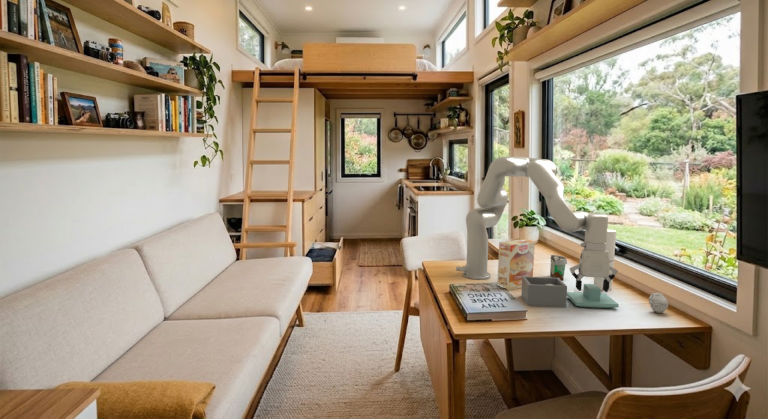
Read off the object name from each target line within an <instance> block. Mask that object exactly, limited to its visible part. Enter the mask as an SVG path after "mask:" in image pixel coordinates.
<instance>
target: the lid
mask: <svg viewBox="0 0 768 419" xmlns="http://www.w3.org/2000/svg"><path fill="white" fill-rule="evenodd" d="M582 291H583V292H576V291H575V292H574V291H573V292H572V291H571V292H570V291H567V297H568V299H569V300H570V301H571V303H573V304H574V305H575V306H576V307H577V306H578V307H579V308H597V309H598V308H600V309H601V308H602V309H611V308H619V303H618V302H617V301H615V299H613V298H612V297H611V296H609V295H608V294H607V293H602V290H601V289H600V288H599V287H597V286H596V285H595V284H594V283H583V290H582Z"/></svg>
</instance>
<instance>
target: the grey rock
mask: <svg viewBox="0 0 768 419" xmlns="http://www.w3.org/2000/svg"><path fill="white" fill-rule="evenodd" d="M648 304H649V306H650V308H651V310H652V311H653V312H655V313H658V314H661V313H662V314H663V313H665V312H666V310H667V309H668V308H669V307H668V306H669V302H668V300H667V298H666V297H665V296H664V294H663V293H661V292H655V293H653V292H652V293H651V294H650V296H649V298H648Z"/></svg>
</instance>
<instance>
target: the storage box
mask: <svg viewBox="0 0 768 419" xmlns="http://www.w3.org/2000/svg"><path fill="white" fill-rule="evenodd" d="M567 292H568V286H567V284H565V283H564V281H561V280H560V279H559V278H551V277H550V276H549V277H544V276H542V277H541V276H533V277H523V276H522V288H521V298H522V300H523V301H524V302H525V304H526V306H528V307H531V306H532V307H550V308H551V307H552V308H567V301H568V300H567Z"/></svg>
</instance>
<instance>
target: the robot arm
mask: <svg viewBox="0 0 768 419" xmlns="http://www.w3.org/2000/svg"><path fill="white" fill-rule="evenodd" d="M556 173H557V165H555V163H554V162H553V161H552V160H550V159H546V158H545V159H543V158H537V157H536V158H534V157H528V156H500V157H497V158H495V159H494V160H492V162H491V163H490V165H489V166H488V169H487V173H486V176H485V178H484V180H483V182H482V185H481V188H480V189H479V192H478V195H477V199H476V200H477V201H476V202H477V204H478V206H479V207H477V208H472V209H471V210H469V211H468V212H467V214H466V217H465V224H466V232H467V233H466V234H467V236H466V237H467V238H466V239H467V241H466V242H467V243H466V245H467V246H466V264H464V266H456V268H455V269H456V272H461V273H462V276H463V277H464V278H467V279H472V280H487V279H490V278H491V273H490V272H488V261H489V260H488V259H489V256H488V255H489V234H488V230H487V228H493V227H495V226H497V224H498V223H499V221H500V219H501V217H502V215H503V213H504V210H505V208H506V207H507V204H508V200H509V194H508V192H507V190H506V189H505V188H504V185H505V180H506V177H511V178H512V177H524V178H525V177H526V178H529V179H530V181H531V182H532V183H533V184H534V186H535V187H536V188H537V189H538V191H539V192H540V194H541V195H542V196H543V197H544V199H545V204H546V208H547V210H548V212H549V214H550V217H551V218H552V219H553V220H554V221H555V224H557V225H558V227H559V228H560V229H561V230H563V231H565V232H567V233H574V232H577V231H585V232H584V240H583V242H581V243H580V247H582V249H581V252H580V256H579V262H578V264H576V265H574V266H571V267H569V271H570V273H571V276H572V277H574V278H575V288H576V289H577V291H579V292H581V291H582V284H583V283H582V282H583V281H582V279H583V278H584V277H586V278H594V277H604V278H605V280H603V290H602V291H604V292H605V293H608V289H609V282H610V281H611V280H612V279H614V278H615V277H616V276H617V274H618V272H619V271H618V270H617V269H616V268H613V267H611V266H610V264H609V253H608V251H607V250H606V242H607V229H609V228H608V224H609V216H608V215H606V214H604V213H593V212H592V213H591V212H586V211H583V210H576V211H575V210H574V211H572V210H571V208H570V207H569V206H568V205H567V203H566V202H565V200H564V196H563V194H564V190H565V186H564V184H563V183H562V182H561V181H560V179H559V178H558V177H557V175H556ZM576 270H578V273H576ZM610 270H611V271H612V273H611V274H610V275H609V272H610Z"/></svg>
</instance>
